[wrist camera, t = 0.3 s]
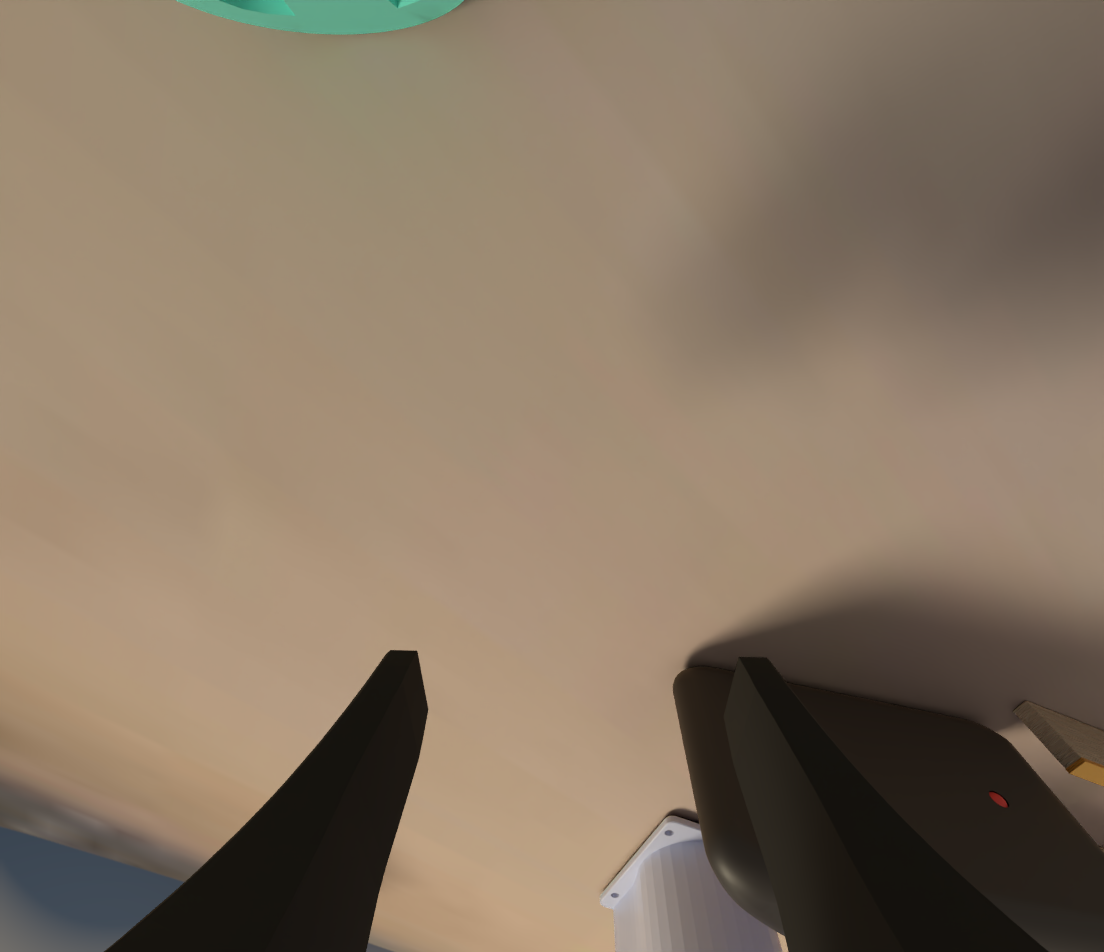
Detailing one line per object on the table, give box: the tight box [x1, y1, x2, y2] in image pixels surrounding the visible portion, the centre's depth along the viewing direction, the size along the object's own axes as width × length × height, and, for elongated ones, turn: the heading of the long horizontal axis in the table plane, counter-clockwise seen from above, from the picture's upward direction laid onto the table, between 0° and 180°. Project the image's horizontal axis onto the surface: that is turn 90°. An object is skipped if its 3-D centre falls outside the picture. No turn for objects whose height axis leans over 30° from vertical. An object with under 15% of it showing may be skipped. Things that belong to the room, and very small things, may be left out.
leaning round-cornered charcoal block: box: [673, 666, 1104, 952], centre depth 21 cm, size 16×5×9 cm, turn 78°
